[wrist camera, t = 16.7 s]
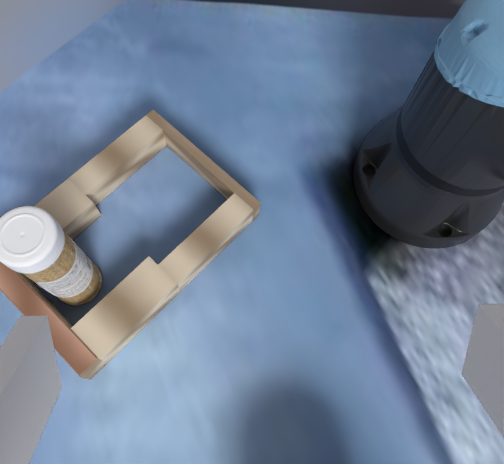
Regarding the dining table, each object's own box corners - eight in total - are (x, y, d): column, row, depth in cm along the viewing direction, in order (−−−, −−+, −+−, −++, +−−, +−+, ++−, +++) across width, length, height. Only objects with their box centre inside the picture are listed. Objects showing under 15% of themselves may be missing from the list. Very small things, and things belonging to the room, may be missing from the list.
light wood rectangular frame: (157, 125, 52) (152, 108, 49) (258, 214, 49) (260, 201, 46) (-14, 266, 45) (-31, 256, 42) (90, 379, 42) (79, 377, 39)
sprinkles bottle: (51, 267, 46) (-17, 213, 33) (99, 254, 46) (50, 196, 34) (59, 313, 44) (-9, 274, 32) (108, 299, 45) (61, 255, 32)
